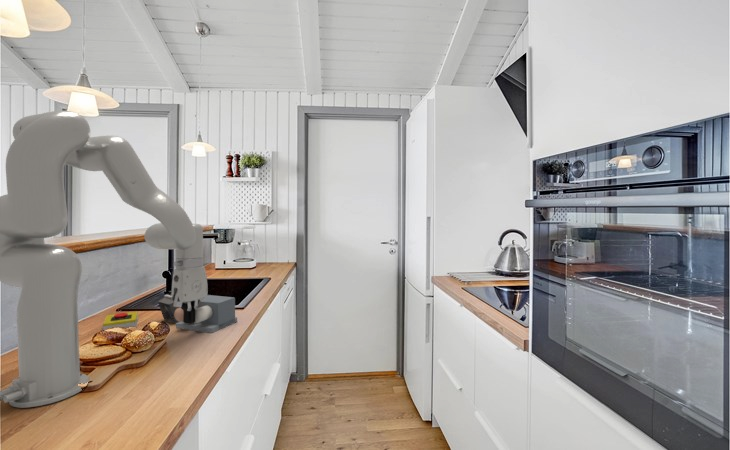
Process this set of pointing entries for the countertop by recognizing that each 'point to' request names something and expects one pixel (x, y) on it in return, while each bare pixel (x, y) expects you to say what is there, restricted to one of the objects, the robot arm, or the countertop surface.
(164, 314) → the electrical switch
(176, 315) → the knob terracotta
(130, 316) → the emergency button
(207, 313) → the knob cream
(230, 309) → the block
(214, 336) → the countertop surface
